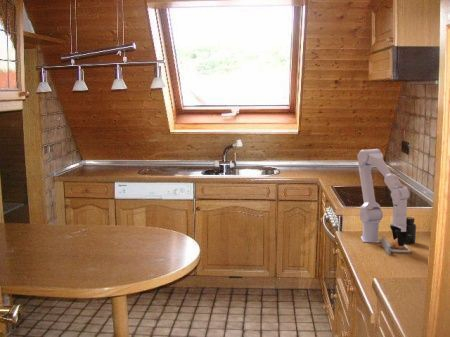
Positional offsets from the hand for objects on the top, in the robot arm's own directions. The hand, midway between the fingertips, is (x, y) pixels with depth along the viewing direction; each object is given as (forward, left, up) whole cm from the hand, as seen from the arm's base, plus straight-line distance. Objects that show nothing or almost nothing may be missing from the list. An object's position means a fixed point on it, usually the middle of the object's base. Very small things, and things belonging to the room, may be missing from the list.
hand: (398, 243), depth 235 cm
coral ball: (0, 0, 0) cm, 0 cm away
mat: (0, 0, -3) cm, 3 cm away
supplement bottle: (-13, +7, -3) cm, 15 cm away
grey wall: (0, -6, -3) cm, 6 cm away
